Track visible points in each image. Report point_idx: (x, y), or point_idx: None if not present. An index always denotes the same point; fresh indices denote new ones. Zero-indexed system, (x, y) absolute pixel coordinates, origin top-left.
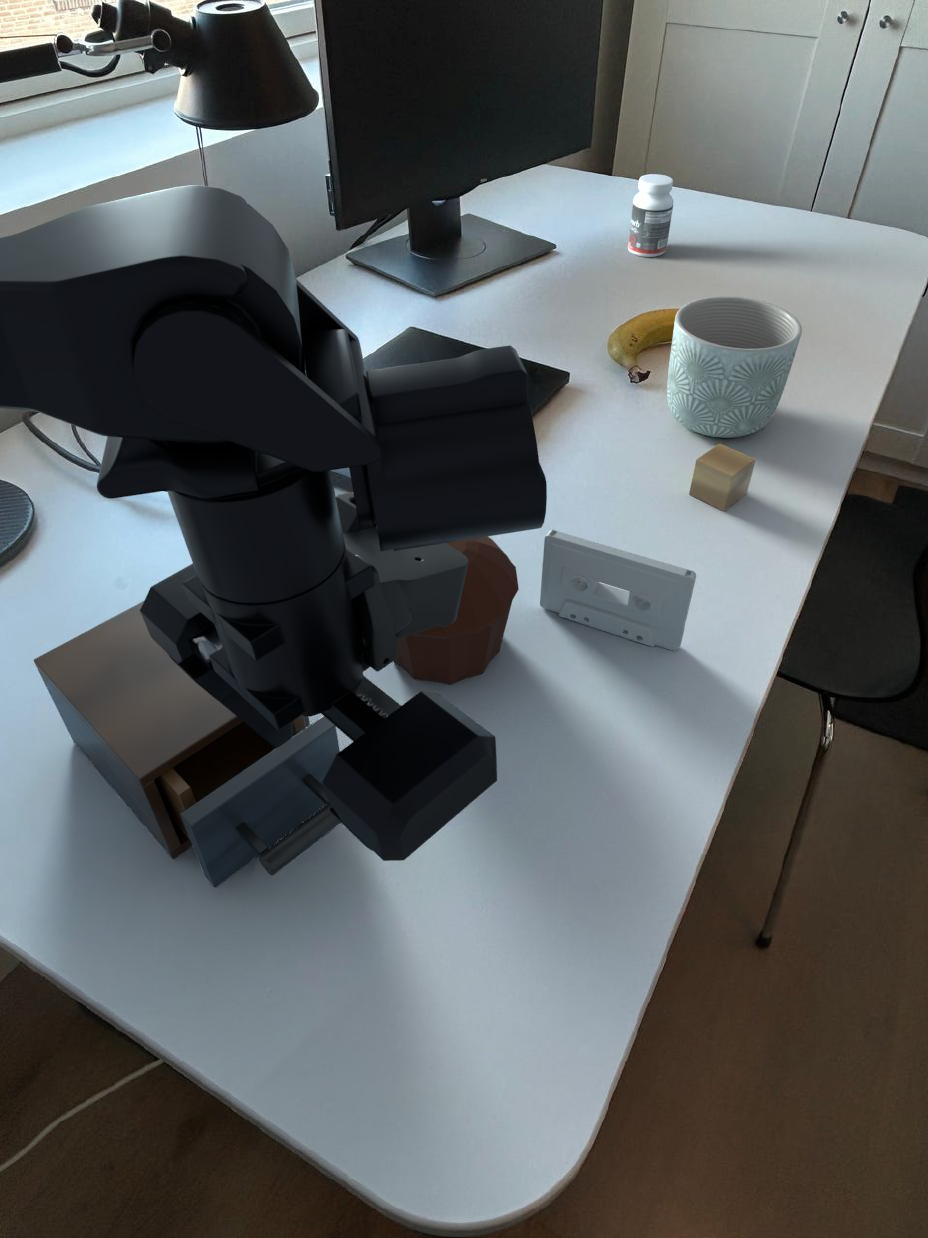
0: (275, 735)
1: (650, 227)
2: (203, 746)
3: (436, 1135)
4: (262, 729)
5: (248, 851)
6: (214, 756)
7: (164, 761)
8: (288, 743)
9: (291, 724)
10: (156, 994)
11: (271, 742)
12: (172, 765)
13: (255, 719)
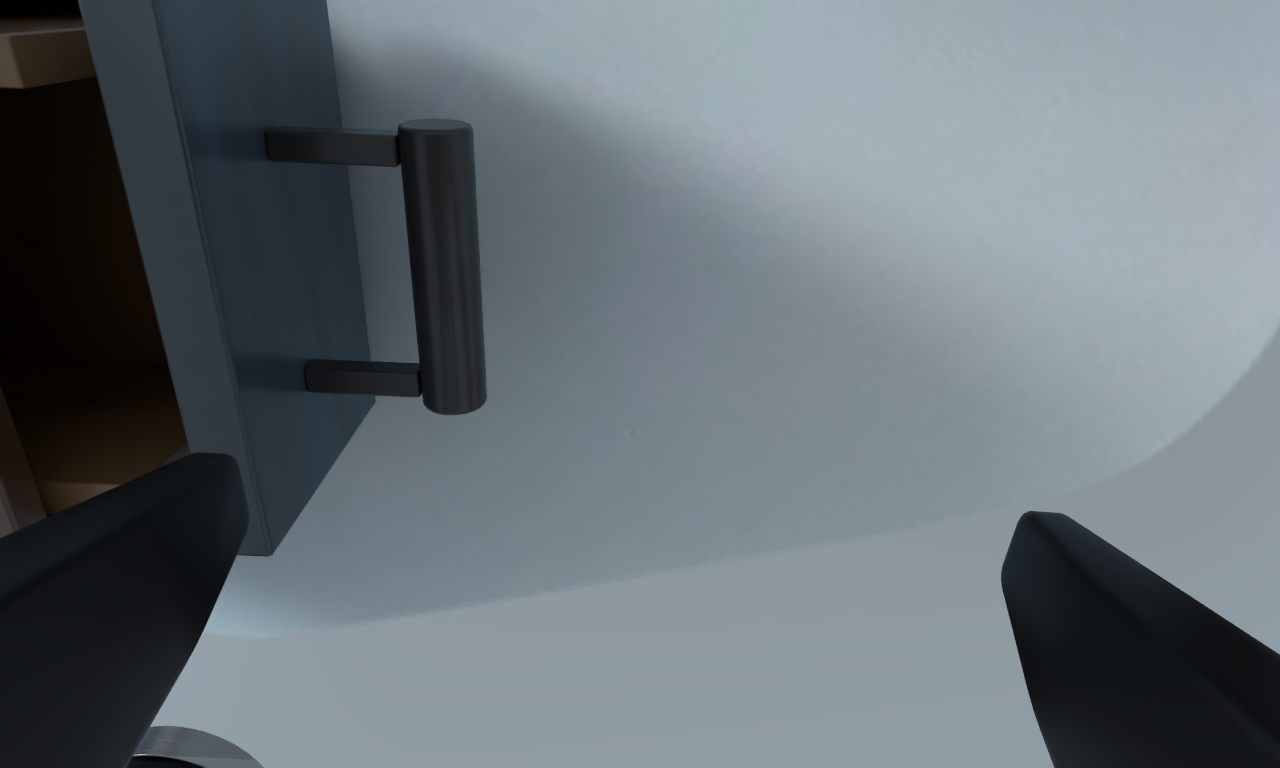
0: (206, 569)
1: None
2: (2, 398)
3: (1055, 401)
4: (163, 676)
5: (350, 328)
6: (8, 212)
7: (11, 531)
8: (139, 190)
9: (185, 491)
10: (489, 553)
11: (226, 577)
12: (33, 500)
13: (101, 750)
